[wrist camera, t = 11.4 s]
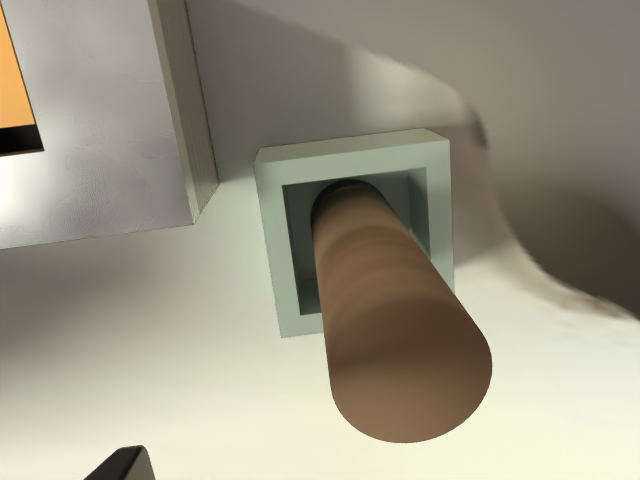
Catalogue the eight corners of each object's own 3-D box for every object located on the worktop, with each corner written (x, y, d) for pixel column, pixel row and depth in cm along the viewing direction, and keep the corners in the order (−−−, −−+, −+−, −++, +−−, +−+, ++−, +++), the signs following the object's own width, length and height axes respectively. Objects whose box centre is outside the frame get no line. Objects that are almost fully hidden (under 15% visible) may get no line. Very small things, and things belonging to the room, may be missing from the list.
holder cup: (430, 278, 22) (455, 315, 18) (282, 296, 22) (281, 337, 18) (423, 127, 20) (449, 139, 16) (259, 148, 20) (253, 164, 16)
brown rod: (392, 250, 21) (492, 432, 10) (315, 260, 21) (338, 452, 10) (386, 174, 20) (492, 291, 9) (305, 184, 20) (321, 314, 9)
